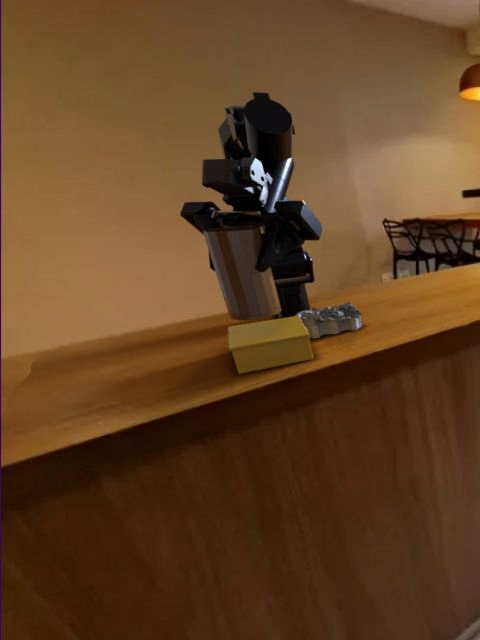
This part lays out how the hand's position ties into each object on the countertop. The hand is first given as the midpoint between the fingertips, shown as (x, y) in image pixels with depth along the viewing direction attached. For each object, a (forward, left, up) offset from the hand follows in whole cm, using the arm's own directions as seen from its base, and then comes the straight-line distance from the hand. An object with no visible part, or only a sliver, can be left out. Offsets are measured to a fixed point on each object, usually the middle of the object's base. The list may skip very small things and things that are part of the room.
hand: (236, 270), depth 61 cm
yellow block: (-1, +2, -13) cm, 14 cm away
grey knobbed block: (-9, +12, -14) cm, 20 cm away
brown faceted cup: (-1, +1, -7) cm, 7 cm away
